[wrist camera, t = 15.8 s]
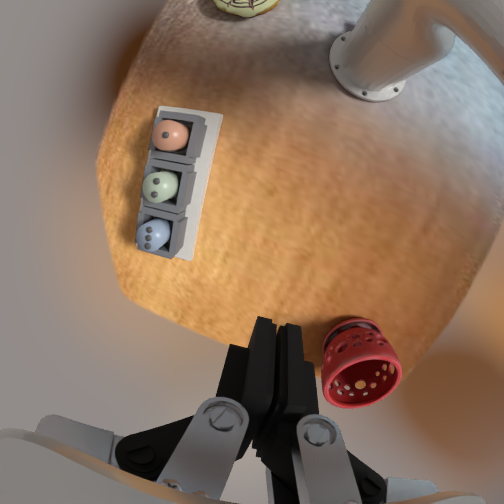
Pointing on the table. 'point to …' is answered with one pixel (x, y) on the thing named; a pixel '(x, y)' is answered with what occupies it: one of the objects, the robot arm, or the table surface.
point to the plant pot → (358, 364)
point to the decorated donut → (246, 6)
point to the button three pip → (154, 234)
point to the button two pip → (161, 186)
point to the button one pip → (171, 136)
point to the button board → (182, 179)
